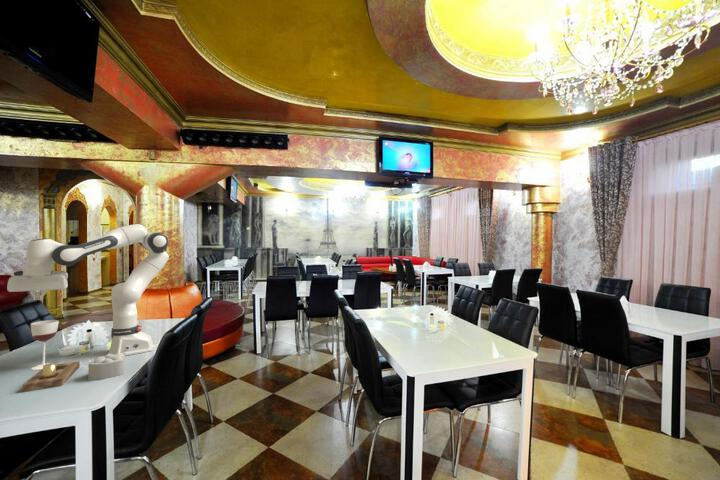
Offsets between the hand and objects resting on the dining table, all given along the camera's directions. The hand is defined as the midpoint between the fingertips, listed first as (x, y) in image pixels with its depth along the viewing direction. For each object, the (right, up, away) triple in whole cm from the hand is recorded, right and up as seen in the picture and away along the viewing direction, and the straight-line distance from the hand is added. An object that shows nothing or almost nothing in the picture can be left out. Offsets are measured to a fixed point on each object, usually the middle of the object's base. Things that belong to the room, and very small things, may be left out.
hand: (38, 299), depth 144 cm
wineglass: (-2, -34, +4) cm, 35 cm away
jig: (+17, -34, -9) cm, 39 cm away
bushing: (+20, -34, -13) cm, 42 cm away
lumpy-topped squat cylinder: (+37, -35, -5) cm, 51 cm away
